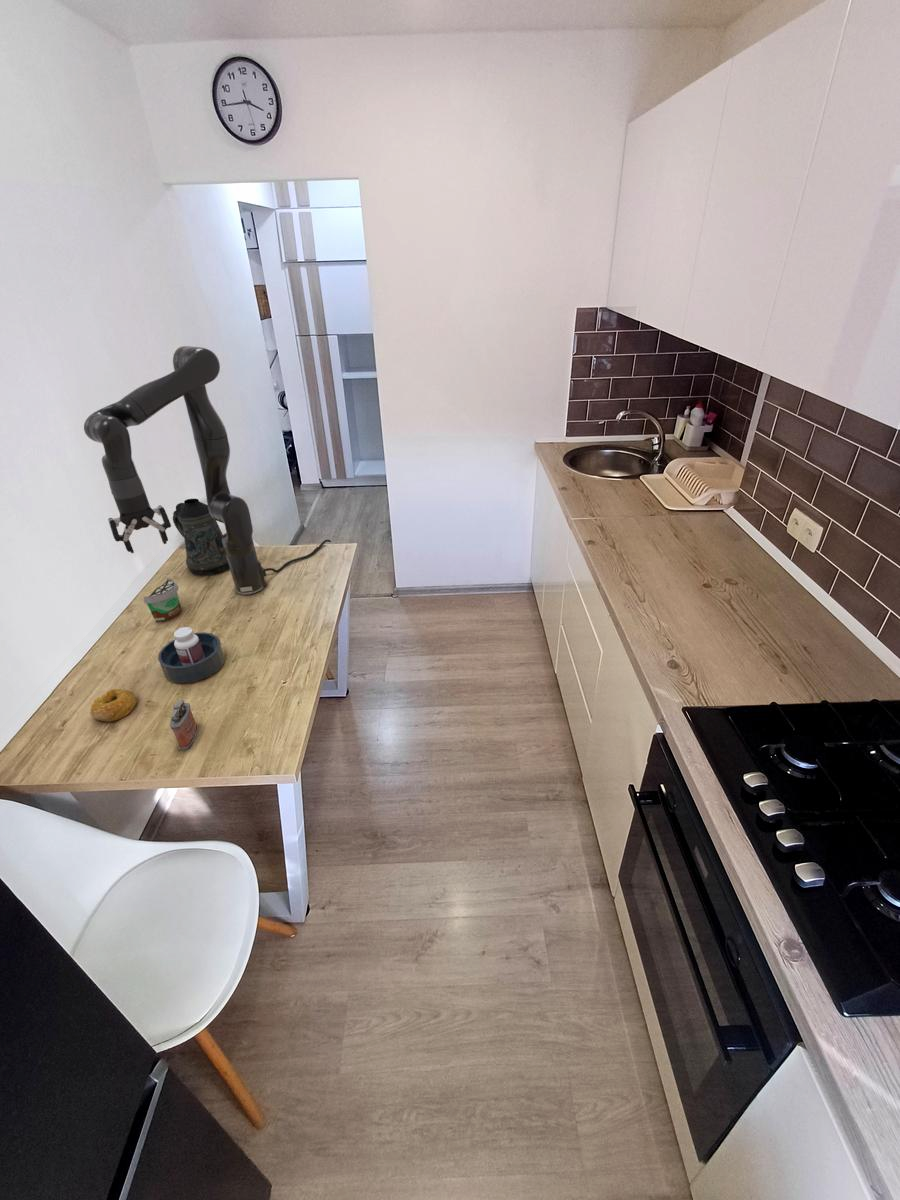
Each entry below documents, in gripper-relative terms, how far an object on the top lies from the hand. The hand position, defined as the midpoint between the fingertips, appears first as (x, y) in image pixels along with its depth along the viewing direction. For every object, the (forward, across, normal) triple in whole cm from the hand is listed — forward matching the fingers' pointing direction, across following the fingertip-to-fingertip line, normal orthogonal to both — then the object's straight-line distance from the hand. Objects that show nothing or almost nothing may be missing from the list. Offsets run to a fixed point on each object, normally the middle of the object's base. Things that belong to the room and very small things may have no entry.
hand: (148, 547), depth 159 cm
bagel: (+28, -22, -27) cm, 45 cm away
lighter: (+28, -10, -49) cm, 57 cm away
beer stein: (+28, +20, +36) cm, 50 cm away
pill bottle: (+28, -1, -22) cm, 35 cm away
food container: (+28, +1, +10) cm, 30 cm away
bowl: (+28, -1, -22) cm, 36 cm away
